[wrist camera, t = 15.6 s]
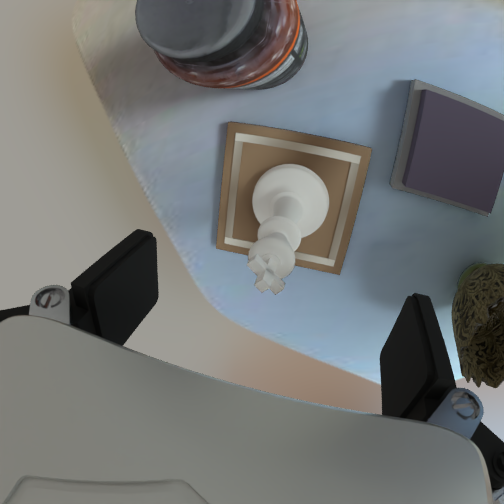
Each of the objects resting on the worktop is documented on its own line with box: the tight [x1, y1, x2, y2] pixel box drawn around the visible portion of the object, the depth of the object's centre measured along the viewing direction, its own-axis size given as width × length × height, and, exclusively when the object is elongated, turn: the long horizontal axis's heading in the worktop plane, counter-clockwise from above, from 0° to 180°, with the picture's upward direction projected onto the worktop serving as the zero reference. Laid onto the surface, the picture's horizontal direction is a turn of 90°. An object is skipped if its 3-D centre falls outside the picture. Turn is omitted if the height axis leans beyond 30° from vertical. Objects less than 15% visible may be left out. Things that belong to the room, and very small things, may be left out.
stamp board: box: [216, 122, 372, 275], centre depth 21 cm, size 9×9×1 cm
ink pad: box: [390, 79, 504, 217], centre depth 16 cm, size 8×7×2 cm
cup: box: [452, 263, 504, 388], centre depth 17 cm, size 8×7×8 cm
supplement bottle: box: [135, 0, 308, 89], centre depth 12 cm, size 6×6×11 cm
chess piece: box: [247, 164, 329, 295], centre depth 16 cm, size 5×5×10 cm
